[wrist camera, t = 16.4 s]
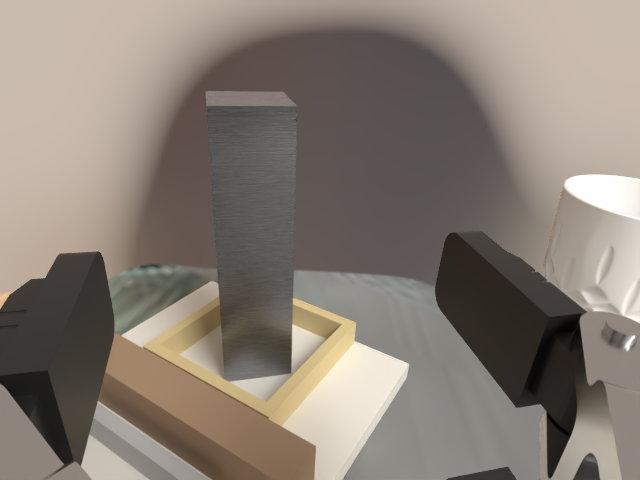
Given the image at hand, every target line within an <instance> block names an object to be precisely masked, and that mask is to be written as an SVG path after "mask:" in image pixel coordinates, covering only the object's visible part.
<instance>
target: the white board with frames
mask: <svg viewBox="0 0 640 480" xmlns="http://www.w3.org/2000/svg"><path fill="white" fill-rule="evenodd" d="M355 328H356V323H355V322H353V321H350V320H348V319H345V318H343V317H340V316H338V315H335V314H333V313H330V312H328V311H325V310H323V309H320V308H318V307H315V306H313V305H310V304H308V303H305V302H303V301H300V300H298V299H295V298H293V317H292V364H291V374H284V375H277V376H269V377H261V378H254V379H246V380H239V381H231V382H228V381H226V380H225V377H224V362H223V347H222V332H221V317H220V302H219V287H218V283H215V282H213V281H210V282H209V283H207V284H205V285H204V286H202V287H201V288H199V289H197V290H196V291H194V292H192V293H191V294H189V295H187V296H186V297H184V298H182V299H181V300H179V301H177V302H176V303H174V304H172V305H171V306H169V307H167V308H166V309H164V310H162V311H161V312H159V313H157V314H156V315H154V316H153V317H151V318H149V319H148V320H146V321H144V322H143V323H141V324H139V325H138V326H136V327H134V328H133V329H131V330H129V331H128V332H126V333H124V334H123V335H119V334H117V333H115V332H114V339H113V344H112V348H111V352H110V355H109V359H108V363H107V367H106V371H105V375H104V379H103V383H102V387H101V390H100V394H99V398H98V402H97V406H96V410H95V414H94V418H93V422H92V426H91V429H90V433H89V437H88V441H87V445H86V449H85V453H84V457H83V461H82V464H81V467H82V468H83V469H84V471H85V472H86V473H87V474H88V475H89V477H90V478H91V479H92V480H342V479H343V478H344V476H345V474H346V473H347V471H348V470H349V468H350V467H351V465H352V463H353V462H354V460H355V459H356V457H357V455H358V454H359V452H360V451H361V449H362V448H363V446H364V444H365V443H366V441H367V440H368V438H369V436H370V435H371V433H372V432H373V430H374V429H375V427H376V425H377V424H378V422H379V421H380V419H381V418H382V416H383V414H384V413H385V411H386V410H387V408H388V406H389V405H390V403H391V402H392V400H393V399H394V397H395V395H396V394H397V392H398V391H399V389H400V388H401V386H402V384H403V383H404V381H405V380H406V378H407V374H408V368H409V364H408V363H405V362H403V361H401V360H398V359H396V358H394V357H391V356H389V355H386V354H384V353H382V352H379V351H377V350H375V349H372V348H370V347H367V346H365V345H363V344H360V343H358V342H356V341H354V338H355Z"/></svg>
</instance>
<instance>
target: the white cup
mask: <svg viewBox="0 0 640 480" xmlns="http://www.w3.org/2000/svg"><path fill="white" fill-rule="evenodd" d="M542 276H543V277H545V278H546V279H547V282H551V283H552V284H553V285H555V286H556V287H557V288H558V289H560V290H561V291H562V292H563V293H564V294H566V295H567V296H568V297H569V298H571V299H572V300H573V301H574V302H576V303H577V304H578V305H579V306H581V307H582V308H583V309H584V310H586V311H587V312H593V311H603V312H610V313H615V314H618V315H622V316H625V317H627V318H630V319H632V320H634V321H637V322H638V323H640V179H636V178H628V177H622V176H612V175H580V176H574V177H571V178H568V179H567V180H565V181H564V183H563V187H562V191H561V195H560V199H559V203H558V207H557V212H556V215H555V220H554V224H553V227H552V231H551V236H550V240H549V244H548V248H547V252H546V256H545V260H544V264H543V269H542Z"/></svg>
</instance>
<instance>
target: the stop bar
mask: <svg viewBox="0 0 640 480" xmlns="http://www.w3.org/2000/svg"><path fill="white" fill-rule="evenodd" d="M206 107H207V122H208V135H209V136H208V137H209V152H210V166H211V182H212V197H213V212H214V227H215V241H216V257H217V272H218V287H219V302H220V317H221V332H222V347H223V362H224V377H225V380H226V381H228V382H231V381H239V380H246V379H254V378H261V377H269V376H277V375H284V374H291V364H292V317H293V270H294V269H293V267H294V222H295V175H296V126H297V106H296V105H295V104H294V103H293V102H292V101H291V100H290V99H289V97H288V96H287V95H286V94H284V92H233V91H229V92H228V91H227V92H226V91H206Z"/></svg>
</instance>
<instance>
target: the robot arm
mask: <svg viewBox="0 0 640 480" xmlns="http://www.w3.org/2000/svg"><path fill="white" fill-rule="evenodd" d="M435 294H436V300H437V304H438V306H439V308H440V310H441V311H442V313H443V314H444V315H445V316H446V318H447V319H448V320H449V322H450V323H451V324H452V325H453V327H454V328H455V329H456V331H457V332H458V333H459V334H460V336H461V337H462V338H463V340H464V341H465V342H466V343H467V345H468V346H469V347H470V349H471V350H472V351H473V352H474V354H475V355H476V356H477V358H478V359H479V360H480V361H481V363H482V364H483V365H484V367H485V368H486V369H487V370H488V372H489V373H490V374H491V376H492V377H493V378H494V379H495V381H496V382H497V383H498V385H499V386H500V387H501V388H502V390H503V391H504V392H505V393H506V395H507V396H508V397H509V399H510V400H511V401H512V402H513V404H514V405H515V406H516V408H518V407H525V406H531V405H537V404H541V405H542V406H543V407H544V411H543V413H542V416H541V418H540V455H539V480H640V323H638V322H637V321H634V320H632V319H630V318H627V317H625V316H622V315H618V314H615V313H610V312H603V311H593V312H587V311H586V310H584V309H583V308H582V307H581V306H579V305H578V304H577V303H576V302H574V301H573V300H572V299H571V298H569V297H568V296H567V295H566V294H564V293H563V292H562V291H561V290H560V289H558V288H557V287H556V286H555V285H553V284H552V283H551V282H547V279H546V278H545V277H543V276H542V275H541V274H540V273H538V272H535V270H534V269H533V268H532V267H531V266H530V265H528V264H527V263H526V262H524V261H523V260H522V259H521V258H519V257H517V256H515V255H513V254H511V253H509V252H507V251H505V250H504V249H502V248H501V247H500V246H499V245H498V244H496V243H495V242H494V241H493V240H492V239H490V238H489V237H488V236H487V235H485V234H484V233H483V232H481V231H471V232H454V233H450V234H449V235H448V236H447V238H446V240H445V243H444V248H443V253H442V258H441V262H440V267H439V272H438V277H437V282H436V287H435ZM113 339H114V313H113V308H112V302H111V297H110V292H109V286H108V281H107V276H106V271H105V265H104V260H103V257H102V255H101V253H100V252H83V253H65V254H59V255H58V256H57V258H56V260H55V262H54V264H53V265H52V267H51V269H50V270H49V272H48V274H47V276H46V278H43V279H31V280H30V281H28V282H27V283H25V284H24V285H23V286H21V287H20V288H19V289H17V290H16V291H14V292H13V293H12V294H10V295H9V297H8V298H7V300H6V301H5V303H4V305H3V306H2V308H1V309H0V480H92V479H91V478H90V477H89V475H88V474H87V473H86V472H85V471H84V469H83V468H82V467H81V464H82V461H83V457H84V453H85V449H86V445H87V441H88V437H89V433H90V429H91V426H92V422H93V418H94V414H95V410H96V406H97V402H98V398H99V394H100V390H101V387H102V383H103V379H104V375H105V371H106V367H107V363H108V359H109V355H110V352H111V348H112V344H113ZM447 480H516V478H515V477H514V475H513V474H512V472H511V471H510V469H509V468H508V467H504V468H499V469H494V470H489V471H484V472H478V473H473V474H468V475H463V476H458V477H453V478H448V479H447Z"/></svg>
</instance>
